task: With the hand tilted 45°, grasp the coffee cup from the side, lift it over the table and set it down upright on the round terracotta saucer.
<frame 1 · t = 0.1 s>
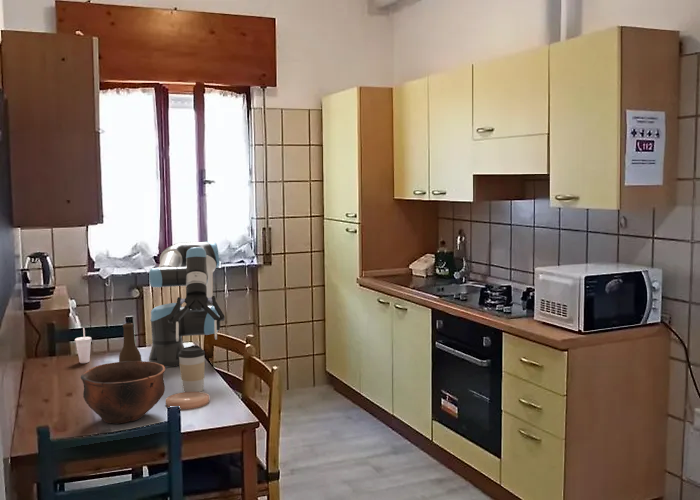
hand: (196, 339, 264), 15 cm above the table, tool tilted 35°, fingers open, 13 cm apart
beer bottle: (132, 392, 255), on the table
bowl: (126, 418, 227), on the table
saucer: (187, 402, 241), on the table
coffee cup: (193, 390, 255), on the table
smoothie: (84, 362, 297), on the table
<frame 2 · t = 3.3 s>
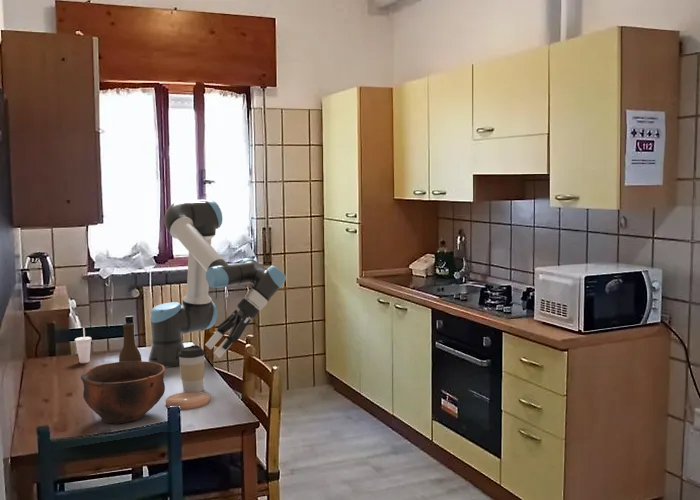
hand: (212, 351, 255), 13 cm above the table, tool tilted 45°, fingers open, 13 cm apart
nothing on the table moved.
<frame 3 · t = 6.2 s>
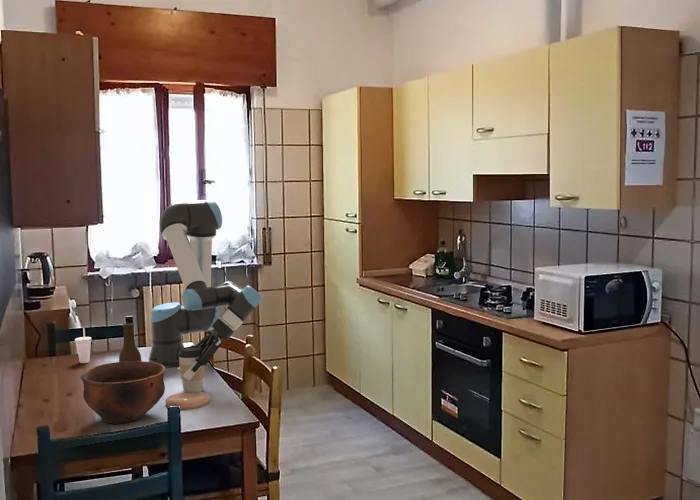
hand: (183, 374, 253), 6 cm above the table, tool tilted 45°, fingers closed on coffee cup, 9 cm apart
coffee cup: (193, 390, 255), on the table, touching gripper
everything else where it was.
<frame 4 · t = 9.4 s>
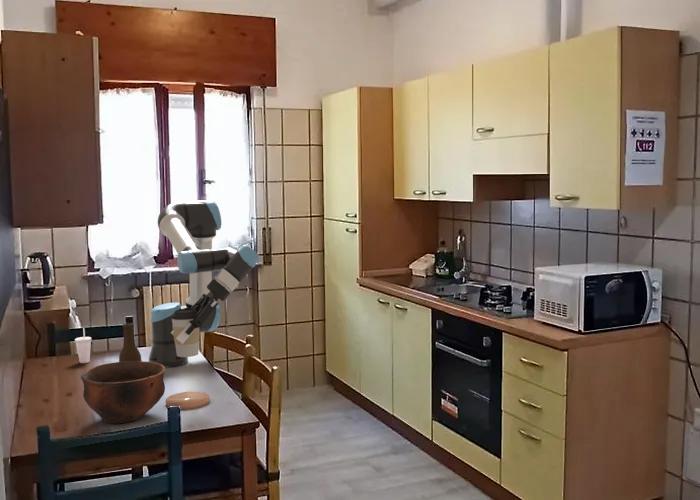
hand: (176, 338, 239), 21 cm above the table, tool tilted 45°, fingers closed on coffee cup, 9 cm apart
coffee cup: (187, 355, 240), point 15 cm above the table, touching gripper
everything else where it was.
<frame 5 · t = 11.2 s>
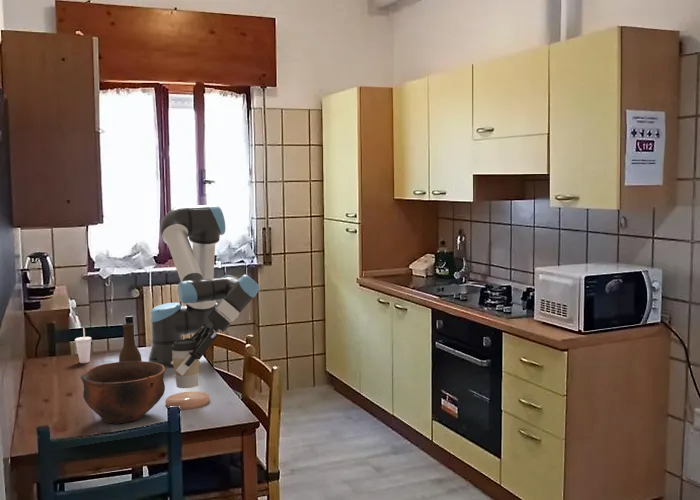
hand: (176, 369, 238), 12 cm above the table, tool tilted 45°, fingers closed on coffee cup, 9 cm apart
coffee cup: (187, 385, 240), point 6 cm above the table, touching gripper
everything else where it was.
when the fingers open (9 cm above the table, at t = 12.6 s): coffee cup drops 2 cm, resting on saucer.
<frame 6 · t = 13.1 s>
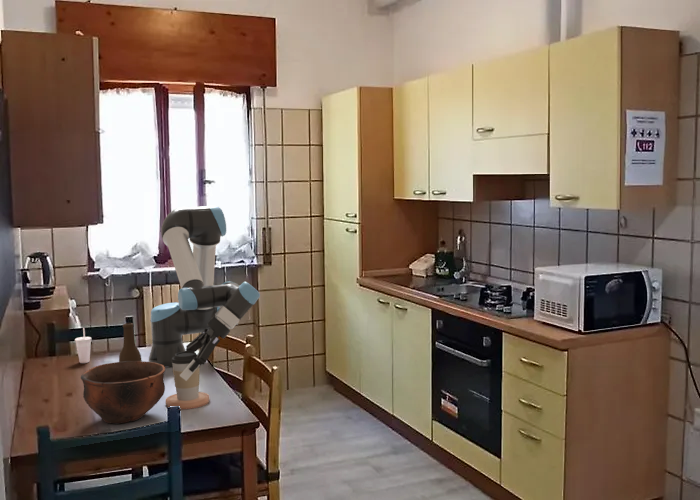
hand: (179, 373, 239), 10 cm above the table, tool tilted 45°, fingers open, 13 cm apart
coffee cup: (187, 398, 241), point 1 cm above the table, touching saucer
everything else where it was.
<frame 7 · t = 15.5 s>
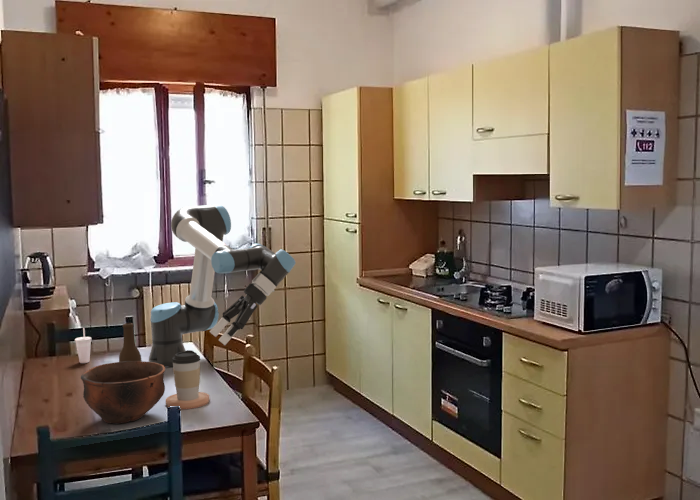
hand: (216, 338, 243), 20 cm above the table, tool tilted 45°, fingers open, 13 cm apart
nothing on the table moved.
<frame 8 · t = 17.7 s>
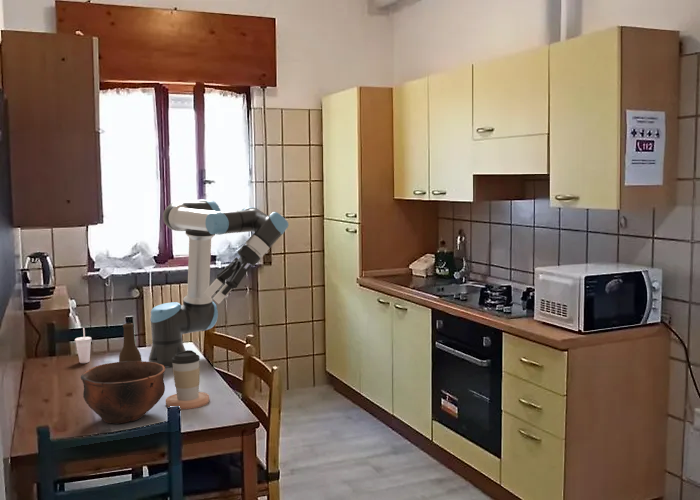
hand: (211, 298, 247), 33 cm above the table, tool tilted 45°, fingers open, 13 cm apart
nothing on the table moved.
at the end: coffee cup inside the target area on the saucer (0.4 cm from its centre), point 1.3 cm above the saucer's base; coffee cup tilted 0°; the gripper is holding nothing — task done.
